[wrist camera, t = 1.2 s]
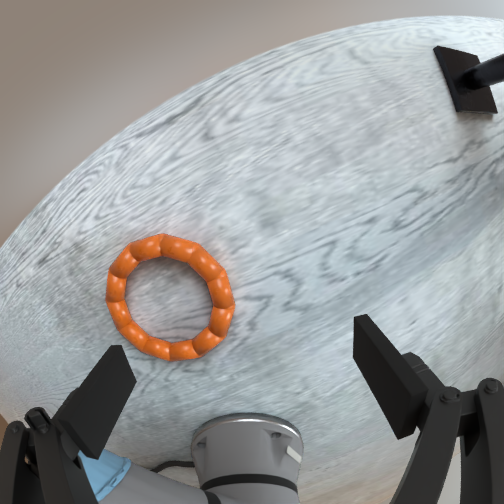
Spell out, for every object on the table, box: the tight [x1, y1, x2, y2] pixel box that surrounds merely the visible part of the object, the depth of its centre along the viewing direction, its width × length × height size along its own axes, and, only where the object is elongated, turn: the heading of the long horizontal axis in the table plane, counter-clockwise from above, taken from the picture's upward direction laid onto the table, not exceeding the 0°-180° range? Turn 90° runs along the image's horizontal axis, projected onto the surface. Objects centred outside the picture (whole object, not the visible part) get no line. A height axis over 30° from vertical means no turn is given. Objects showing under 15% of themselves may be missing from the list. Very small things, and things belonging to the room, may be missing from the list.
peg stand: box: [433, 46, 504, 114], centre depth 15 cm, size 9×9×15 cm
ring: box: [105, 234, 235, 362], centre depth 26 cm, size 13×13×2 cm
